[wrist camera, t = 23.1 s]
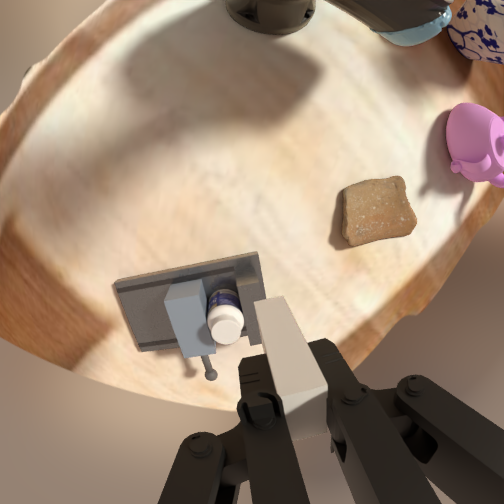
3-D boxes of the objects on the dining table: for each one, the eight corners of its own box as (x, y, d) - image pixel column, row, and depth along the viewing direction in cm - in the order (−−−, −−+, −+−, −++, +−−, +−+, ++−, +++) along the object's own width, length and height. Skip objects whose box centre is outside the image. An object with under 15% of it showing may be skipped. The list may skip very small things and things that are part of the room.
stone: (408, 233, 46) (418, 237, 43) (338, 246, 45) (346, 251, 42) (406, 176, 43) (416, 176, 40) (333, 181, 42) (341, 181, 39)
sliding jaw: (170, 284, 41) (163, 301, 36) (201, 278, 42) (198, 294, 36) (199, 369, 46) (198, 391, 41) (226, 365, 47) (227, 387, 41)
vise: (117, 279, 42) (100, 297, 35) (257, 251, 43) (264, 266, 36) (143, 347, 46) (134, 372, 39) (270, 326, 47) (278, 350, 40)
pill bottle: (210, 285, 43) (208, 312, 34) (243, 290, 43) (249, 317, 35) (206, 315, 44) (204, 345, 35) (238, 319, 45) (242, 350, 36)
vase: (422, 11, 32) (506, -31, 3) (456, 9, 31) (526, -18, 2) (464, 80, 37) (561, 64, 9) (490, 68, 36) (568, 57, 8)
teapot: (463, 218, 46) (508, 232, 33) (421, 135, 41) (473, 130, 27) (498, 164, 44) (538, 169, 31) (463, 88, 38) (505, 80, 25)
